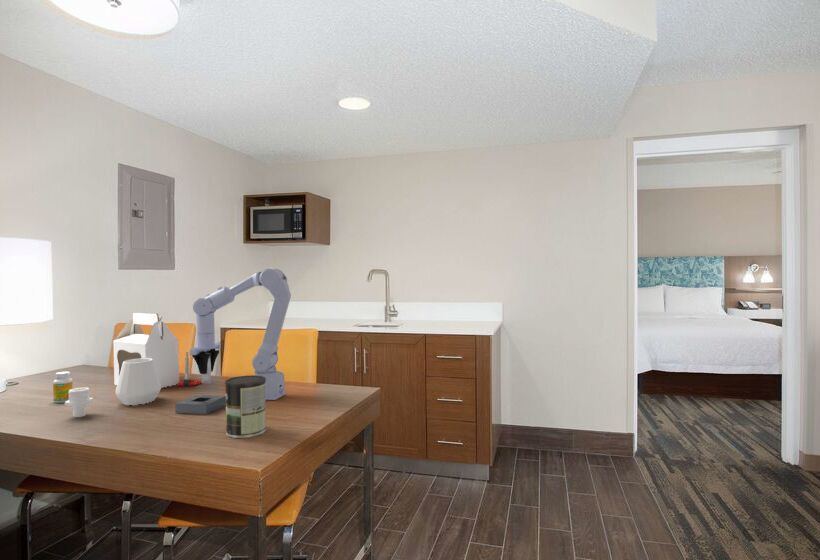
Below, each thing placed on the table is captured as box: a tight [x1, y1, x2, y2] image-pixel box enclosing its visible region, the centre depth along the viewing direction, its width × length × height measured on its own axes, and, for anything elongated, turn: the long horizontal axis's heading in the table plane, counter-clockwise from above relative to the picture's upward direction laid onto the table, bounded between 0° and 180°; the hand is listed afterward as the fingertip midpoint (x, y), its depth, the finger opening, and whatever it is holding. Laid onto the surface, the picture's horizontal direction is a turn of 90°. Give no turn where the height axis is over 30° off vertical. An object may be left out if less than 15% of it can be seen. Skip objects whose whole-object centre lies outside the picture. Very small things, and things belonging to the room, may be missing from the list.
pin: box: [201, 353, 212, 385], centre depth 165 cm, size 3×3×10 cm
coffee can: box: [224, 374, 267, 439], centre depth 128 cm, size 10×10×14 cm
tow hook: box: [176, 352, 202, 387], centre depth 188 cm, size 8×13×9 cm
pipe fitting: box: [64, 387, 94, 418], centre depth 145 cm, size 6×7×8 cm
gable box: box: [112, 312, 180, 389], centre depth 187 cm, size 22×13×28 cm, turn 59°
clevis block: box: [174, 394, 226, 415], centre depth 151 cm, size 10×10×3 cm
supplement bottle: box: [52, 371, 74, 404], centre depth 163 cm, size 5×5×10 cm
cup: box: [115, 358, 162, 406], centre depth 161 cm, size 13×13×14 cm
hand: (206, 372), depth 165 cm, fingers closed on pin, 3 cm apart
